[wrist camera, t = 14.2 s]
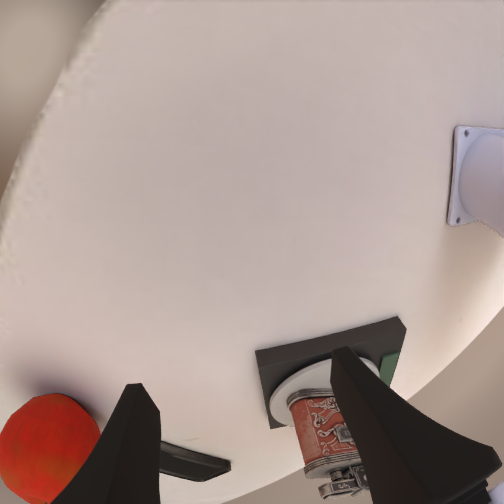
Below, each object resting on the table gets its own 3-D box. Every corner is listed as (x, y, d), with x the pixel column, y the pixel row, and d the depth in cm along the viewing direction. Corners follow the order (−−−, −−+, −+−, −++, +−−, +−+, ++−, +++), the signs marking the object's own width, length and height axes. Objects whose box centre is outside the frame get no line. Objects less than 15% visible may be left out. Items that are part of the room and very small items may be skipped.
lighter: (369, 388, 26) (409, 476, 17) (350, 409, 27) (383, 492, 18) (297, 384, 23) (329, 494, 15) (279, 407, 25) (303, 508, 16)
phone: (201, 482, 37) (109, 456, 30) (200, 476, 38) (110, 449, 31) (235, 468, 35) (135, 439, 28) (234, 462, 36) (136, 431, 29)
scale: (397, 316, 25) (412, 336, 23) (379, 386, 31) (389, 404, 28) (255, 350, 25) (260, 376, 22) (267, 415, 30) (272, 437, 28)
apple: (88, 439, 30) (77, 534, 18) (8, 393, 25) (-22, 490, 13) (138, 412, 28) (132, 537, 15) (38, 351, 22) (-7, 484, 10)
